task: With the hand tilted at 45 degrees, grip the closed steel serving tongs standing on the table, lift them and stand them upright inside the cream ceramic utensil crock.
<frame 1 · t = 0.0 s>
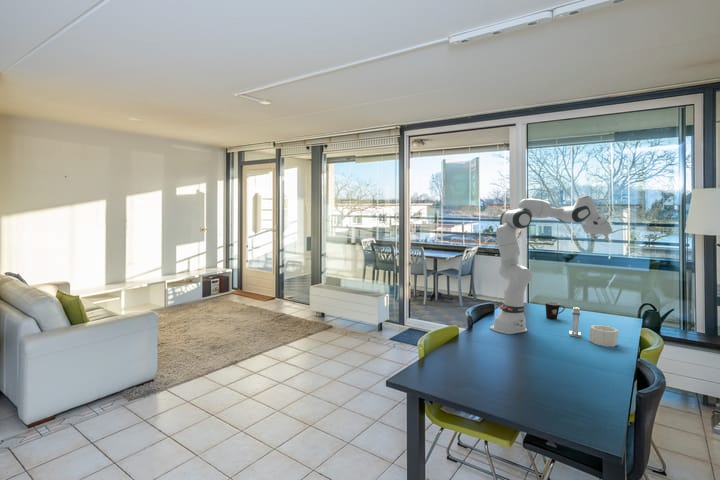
hand: (601, 239, 243), 54 cm above the table, tool tilted 30°, fingers open, 8 cm apart
coffee mug: (554, 318, 262), on the table
utensil crock: (603, 342, 215), on the table
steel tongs: (574, 335, 227), on the table
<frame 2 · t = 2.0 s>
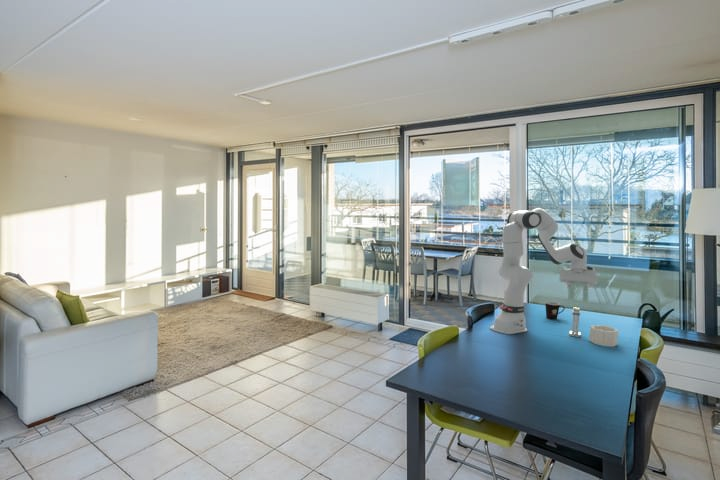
hand: (577, 288, 235), 25 cm above the table, tool tilted 45°, fingers open, 8 cm apart
nothing on the table moved.
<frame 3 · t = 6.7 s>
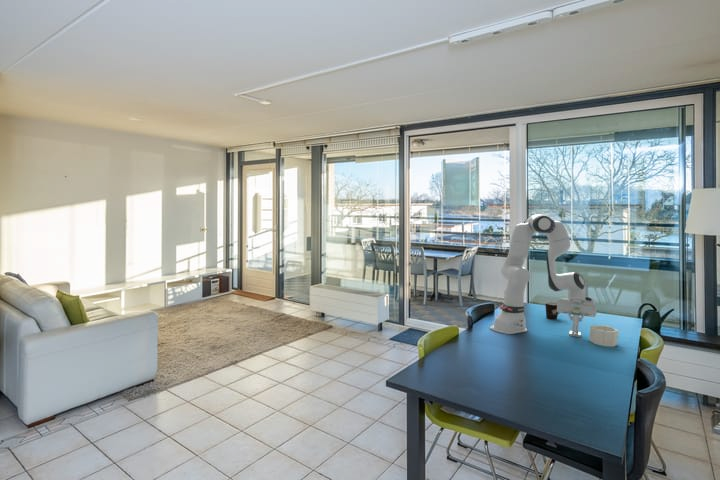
hand: (575, 320, 226), 9 cm above the table, tool tilted 45°, fingers closed on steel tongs, 3 cm apart
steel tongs: (574, 335, 227), on the table, touching gripper
everything else where it was.
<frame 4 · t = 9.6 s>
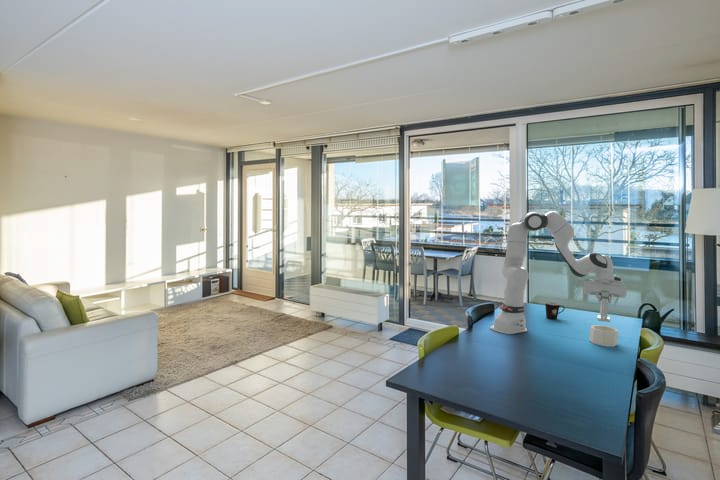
hand: (604, 301, 213), 23 cm above the table, tool tilted 45°, fingers closed on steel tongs, 3 cm apart
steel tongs: (603, 319, 215), point 12 cm above the table, touching gripper
everything else where it was.
when the fingers open (11 cm above the table, at t = 12.7 s): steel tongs stays where it is, resting on utensil crock.
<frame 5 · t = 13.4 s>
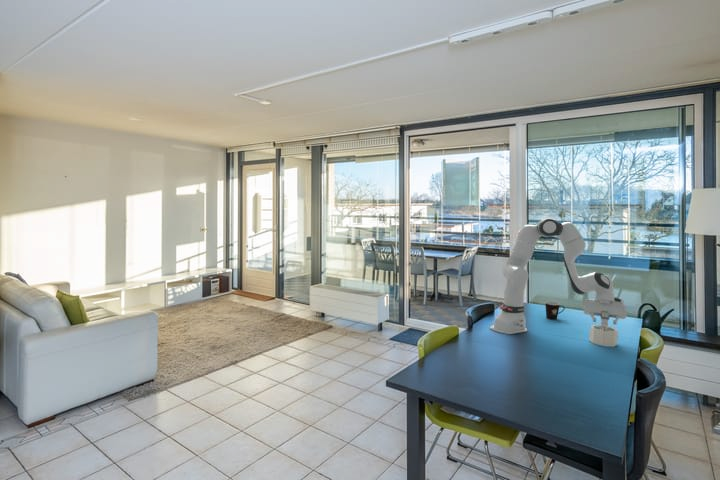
hand: (604, 322, 213), 11 cm above the table, tool tilted 45°, fingers open, 8 cm apart
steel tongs: (603, 340, 215), point 1 cm above the table, touching utensil crock
everything else where it was.
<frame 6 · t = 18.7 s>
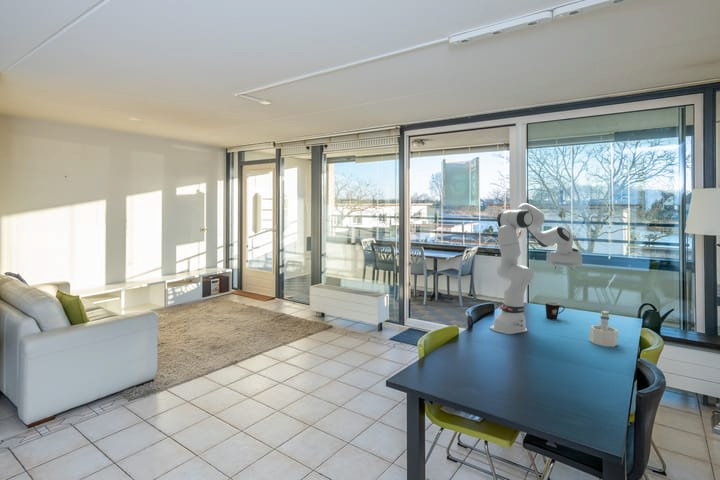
hand: (563, 269, 243), 35 cm above the table, tool tilted 45°, fingers open, 8 cm apart
nothing on the table moved.
at the end: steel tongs 0.7 cm off-centre on the utensil crock, point 1.0 cm above the utensil crock's base; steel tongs tilted 0°; the gripper is holding nothing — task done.
